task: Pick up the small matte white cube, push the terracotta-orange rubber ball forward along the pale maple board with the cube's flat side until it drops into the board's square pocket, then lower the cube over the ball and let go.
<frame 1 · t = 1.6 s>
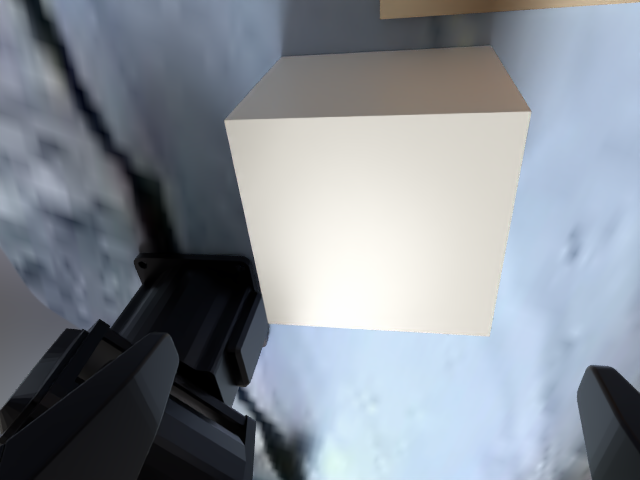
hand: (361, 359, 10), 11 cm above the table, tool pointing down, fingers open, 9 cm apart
matte white cube: (382, 147, 19), on the table
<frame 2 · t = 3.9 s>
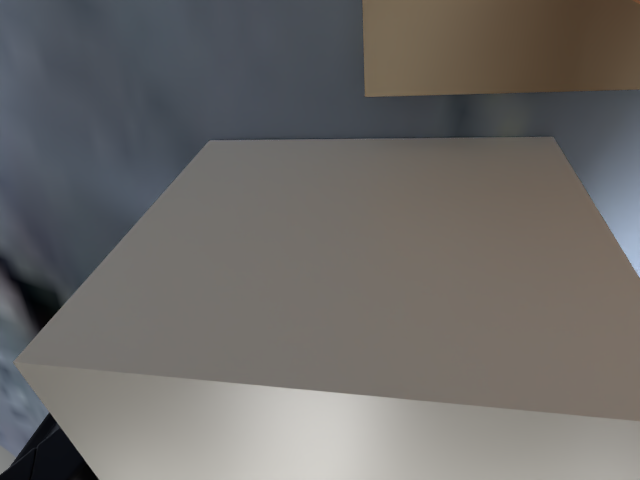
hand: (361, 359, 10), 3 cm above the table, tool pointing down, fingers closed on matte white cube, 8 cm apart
matte white cube: (372, 270, 12), on the table, touching gripper
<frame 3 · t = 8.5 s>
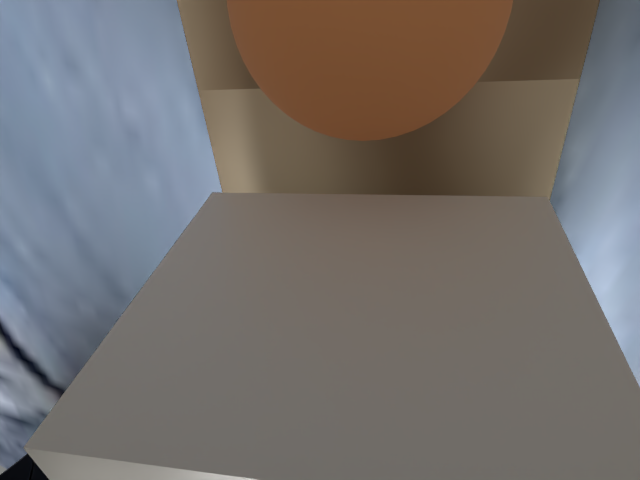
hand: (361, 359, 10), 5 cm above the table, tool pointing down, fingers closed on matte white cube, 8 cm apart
matte white cube: (371, 315, 12), point 3 cm above the table, touching gripper
ball: (366, 0, 8), resting in board
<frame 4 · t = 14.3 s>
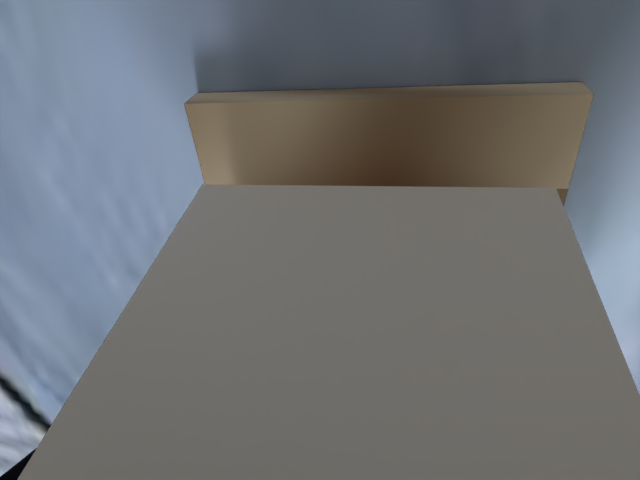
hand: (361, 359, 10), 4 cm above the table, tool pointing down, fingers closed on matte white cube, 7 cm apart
matte white cube: (370, 302, 12), point 2 cm above the table, tilted 5°, touching gripper
board: (376, 241, 13), on the table
when the fingers open (4 cm above the table, at t = 14.8 s): matte white cube stays where it is, resting on board.
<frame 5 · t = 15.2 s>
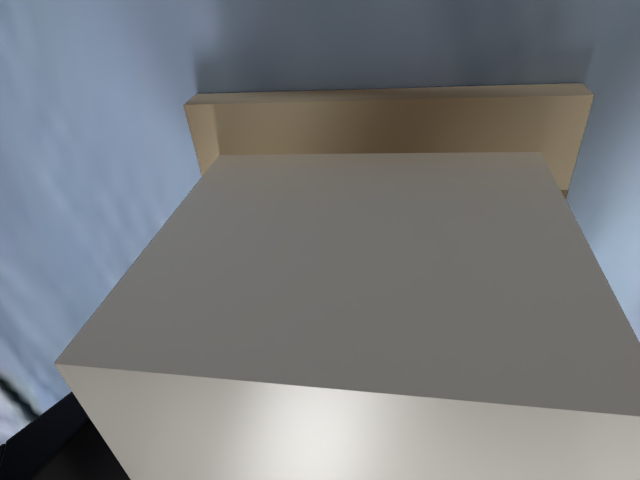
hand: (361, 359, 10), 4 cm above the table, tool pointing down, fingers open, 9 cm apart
matte white cube: (372, 275, 13), point 1 cm above the table, touching board
board: (376, 242, 13), on the table
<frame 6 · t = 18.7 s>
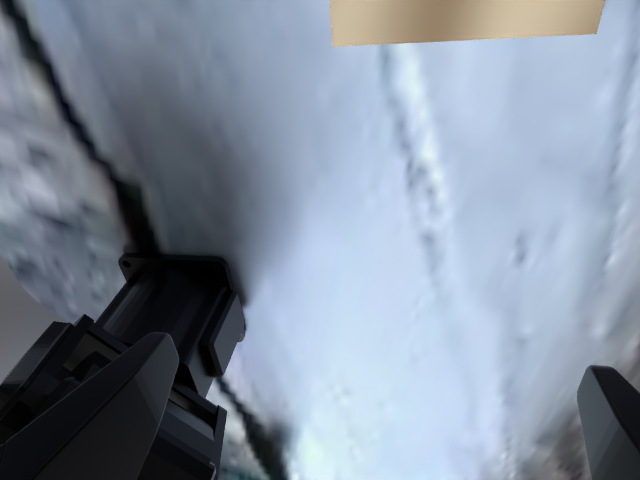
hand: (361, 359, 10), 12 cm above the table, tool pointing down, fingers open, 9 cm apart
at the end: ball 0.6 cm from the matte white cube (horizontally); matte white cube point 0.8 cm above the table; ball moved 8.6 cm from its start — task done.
